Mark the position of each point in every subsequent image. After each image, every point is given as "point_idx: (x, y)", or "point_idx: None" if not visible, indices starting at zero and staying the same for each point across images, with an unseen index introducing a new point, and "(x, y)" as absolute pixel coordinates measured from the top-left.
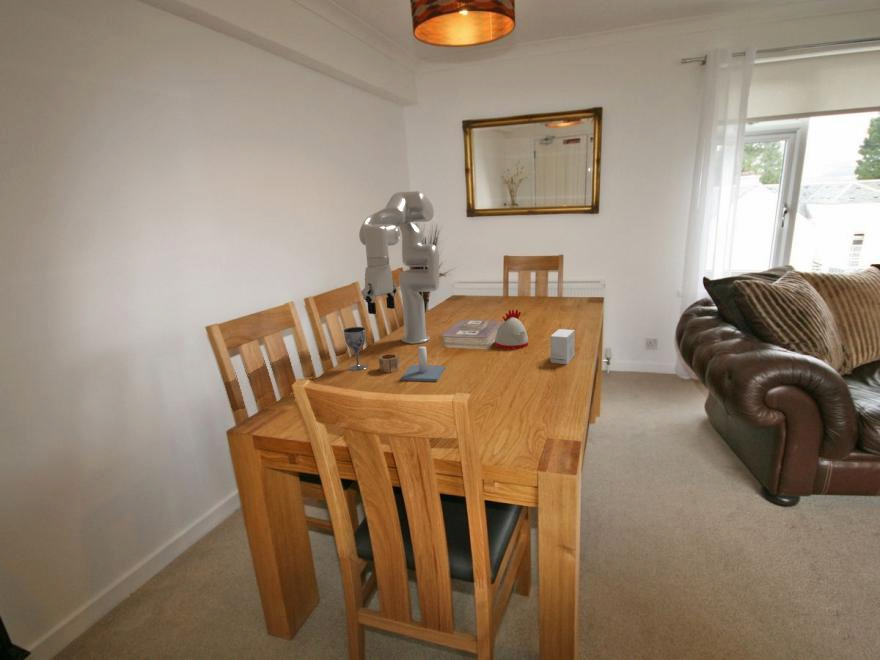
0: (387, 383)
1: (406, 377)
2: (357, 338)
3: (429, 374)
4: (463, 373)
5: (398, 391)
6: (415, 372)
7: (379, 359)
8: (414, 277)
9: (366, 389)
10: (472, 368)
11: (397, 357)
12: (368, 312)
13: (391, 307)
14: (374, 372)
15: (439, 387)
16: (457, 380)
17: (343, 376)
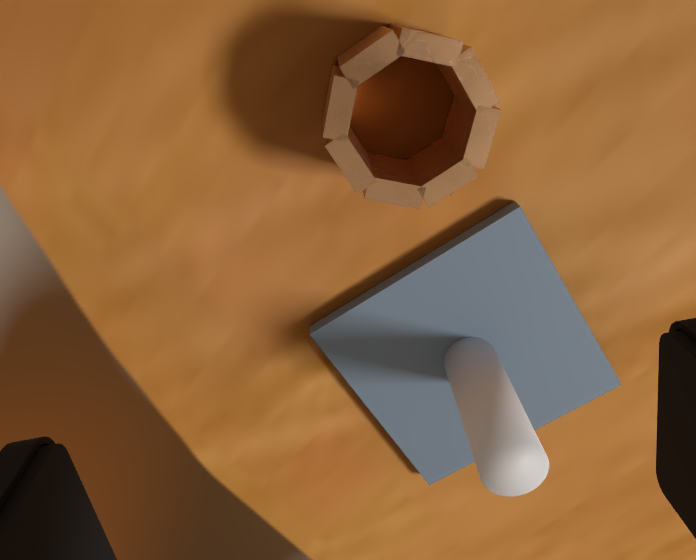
0: (222, 301)
1: (334, 356)
2: None
3: (454, 415)
4: (598, 488)
5: (199, 427)
6: (430, 335)
7: (331, 87)
8: None
9: (73, 281)
10: None
11: (444, 196)
12: (7, 452)
13: (666, 462)
14: (281, 62)
15: (376, 524)
16: (499, 525)
17: None
